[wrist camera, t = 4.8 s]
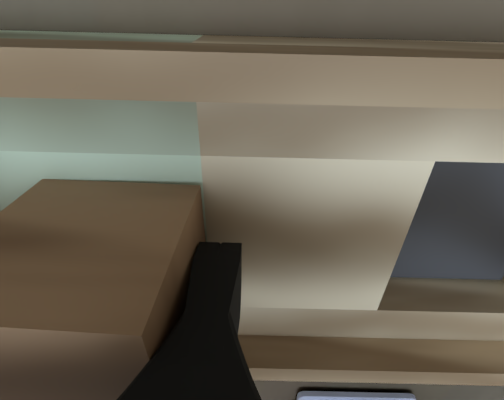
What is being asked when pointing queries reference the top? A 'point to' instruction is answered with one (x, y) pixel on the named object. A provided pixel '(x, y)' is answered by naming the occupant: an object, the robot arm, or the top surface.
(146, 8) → the top surface
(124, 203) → the walnut block
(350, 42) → the trap track
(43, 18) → the top surface
